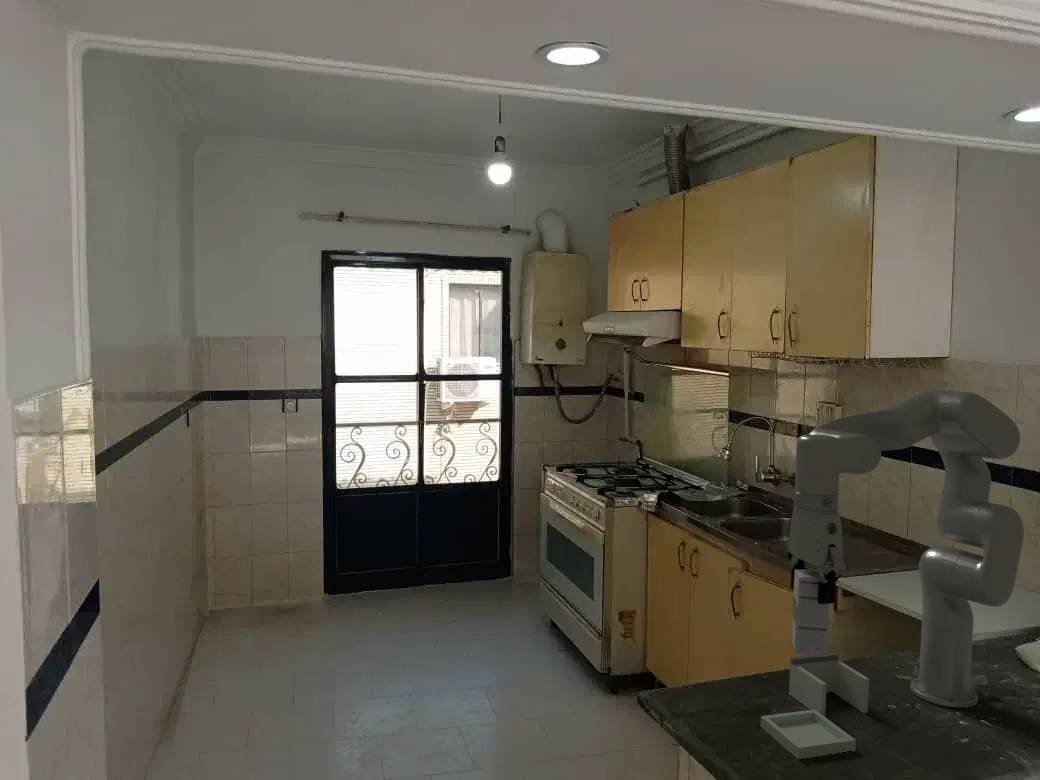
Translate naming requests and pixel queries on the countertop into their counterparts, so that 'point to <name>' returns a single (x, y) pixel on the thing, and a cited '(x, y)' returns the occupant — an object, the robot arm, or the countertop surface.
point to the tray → (807, 734)
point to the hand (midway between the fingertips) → (812, 595)
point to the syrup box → (809, 615)
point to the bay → (826, 682)
